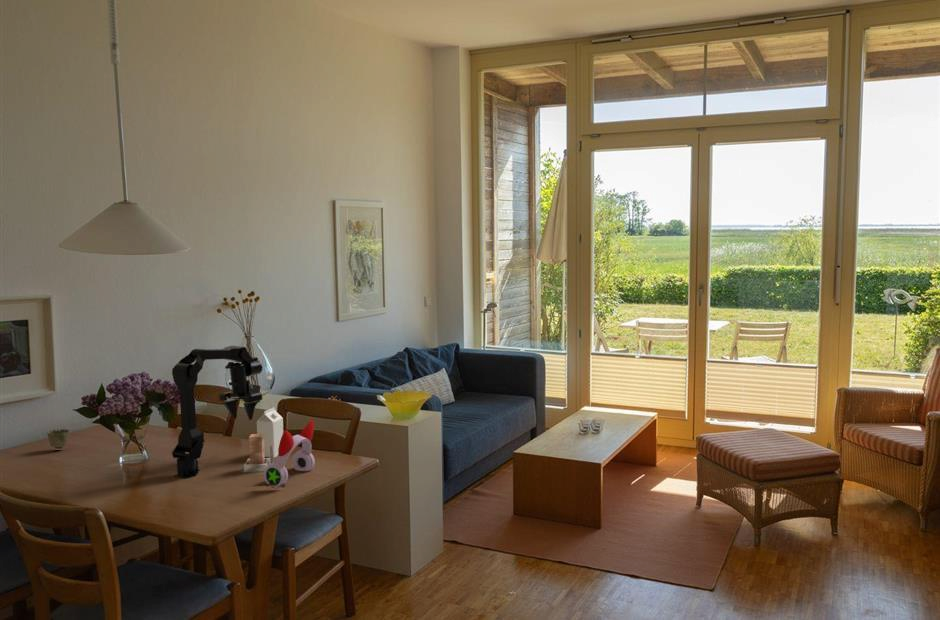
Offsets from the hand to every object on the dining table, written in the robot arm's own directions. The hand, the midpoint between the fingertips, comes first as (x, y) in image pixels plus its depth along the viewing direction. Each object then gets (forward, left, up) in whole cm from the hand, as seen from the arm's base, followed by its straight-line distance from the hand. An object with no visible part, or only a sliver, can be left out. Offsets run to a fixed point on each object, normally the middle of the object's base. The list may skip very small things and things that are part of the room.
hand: (242, 419), depth 295 cm
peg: (-12, -19, -13) cm, 26 cm away
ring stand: (-12, -19, -15) cm, 27 cm away
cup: (-28, +73, -15) cm, 79 cm away
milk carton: (+4, -10, -15) cm, 19 cm away
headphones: (-13, -36, -15) cm, 42 cm away
